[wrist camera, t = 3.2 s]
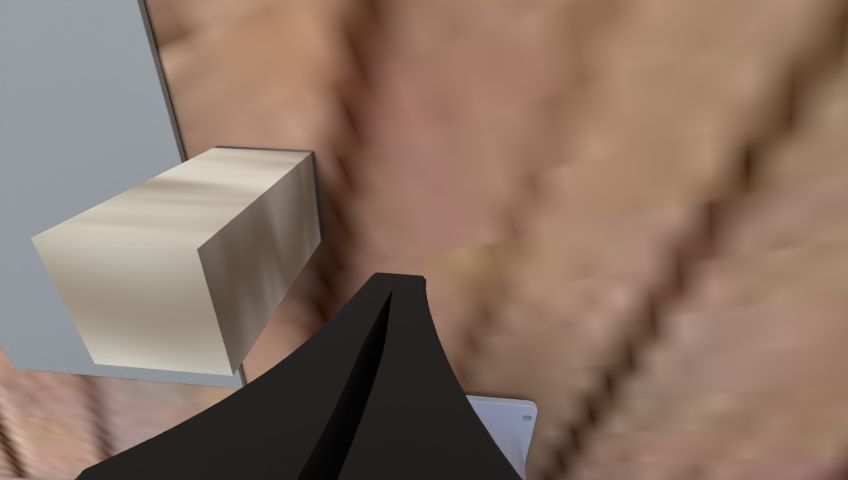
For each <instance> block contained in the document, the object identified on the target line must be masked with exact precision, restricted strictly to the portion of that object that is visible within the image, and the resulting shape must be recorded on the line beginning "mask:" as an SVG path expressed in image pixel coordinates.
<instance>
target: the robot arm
mask: <svg viewBox="0 0 848 480" xmlns="http://www.w3.org/2000/svg"><path fill="white" fill-rule="evenodd" d="M537 413H538V410H537V405H536V404H535V403H534V402H532V401H529V400H517V399H506V398H494V397H482V396H471V395H465V393H464V391H463V390H462V388H461V386H460V384H459V382H458V380H457V378H456V376H455V374H454V372H453V370H452V368H451V366H450V364H449V362H448V360H447V357H446V355H445V353H444V350H443V348H442V345H441V343H440V340H439V338H438V335H437V332H436V329H435V326H434V323H433V320H432V317H431V313H430V309H429V305H428V300H427V295H426V279H425V278H424V277H423V276H419V275H405V274H391V273H377V272H376V273H375V274H373V275H372V276H371V277H370V278H369V279H368V281H367V282H366V283H365V284H364V285H363V286H362V287H361V288H360V290H359V291H358V292H357V293H356V294H355V295H354V296H353V297H352V298H351V299H350V300H349V301H348V302H347V303H346V304H345V305H344V306H343V307H342V308H341V309H340V310H339V311H338V312H337V313H336V314H335V315H334V316H333V317H332V318H331V319H330V320H329V321H328V322H327V323H326V324H325V325H324V326H323V327H322V328H320V329H319V330H318V331H317V332H316V333H315V334H314V335H313V336H312V337H310V338H309V339H308V340H307V341H306V342H305V343H304V344H302V345H301V346H300V347H299V348H297V349H296V350H295V351H294V352H292V353H291V354H290V355H289V356H287V357H286V358H285V359H283V360H282V361H281V362H279V363H278V364H277V365H275V366H274V367H273V368H271V369H270V370H268V371H267V372H266V373H264V374H263V375H261V376H260V377H258V378H256V379H255V380H253V381H252V382H250V383H249V384H247V385H246V386H244V387H242V388H241V389H239V390H238V391H236V392H235V393H233V394H232V395H230V396H228V397H227V398H225V399H223V400H222V401H220V402H218V403H217V404H215V405H213V406H211V407H210V408H208V409H206V410H204V411H203V412H201V413H199V414H197V415H195V416H193V417H192V418H190V419H188V420H186V421H184V422H182V423H180V424H179V425H177V426H175V427H173V428H171V429H169V430H167V431H165V432H163V433H161V434H159V435H157V436H155V437H153V438H151V439H149V440H147V441H145V442H142V443H140V444H138V445H136V446H134V447H132V448H130V449H128V450H126V451H123V452H121V453H119V454H117V455H115V456H113V457H111V458H109V459H106V460H104V461H102V462H100V463H98V464H96V465H93V466H91V467H89V468H87V469H84V470H83V471H82V472H81V474H80V475H79V476H78V477H77V478H76V479H75V480H526V474H525V467H524V466H525V462H526V458H527V454H528V450H529V446H530V442H531V438H532V434H533V430H534V426H535V421H536V417H537Z"/></svg>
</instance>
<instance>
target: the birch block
mask: <svg viewBox="0 0 848 480" xmlns="http://www.w3.org/2000/svg"><path fill="white" fill-rule="evenodd" d="M322 239H323V234H322V225H321V216H320V207H319V197H318V188H317V179H316V170H315V161H314V151H309V150H289V149H269V148H249V147H230V146H216V147H214V148H212V149H210V150H208V151H206V152H204V153H202V154H200V155H198V156H196V157H194V158H192V159H190V160H188V161H186V162H184V163H182V164H180V165H178V166H176V167H174V168H172V169H170V170H168V171H166V172H164V173H162V174H160V175H158V176H156V177H154V178H151V179H149V180H147V181H145V182H143V183H141V184H139V185H137V186H135V187H133V188H131V189H129V190H127V191H125V192H123V193H121V194H119V195H117V196H115V197H113V198H111V199H109V200H107V201H105V202H103V203H101V204H99V205H97V206H95V207H93V208H91V209H89V210H87V211H85V212H83V213H81V214H79V215H76V216H74V217H72V218H70V219H68V220H66V221H64V222H62V223H60V224H58V225H56V226H54V227H52V228H50V229H48V230H46V231H44V232H42V233H40V234H38V235H36V236H34V237H32V238H31V240H32V242H33V244H34V245H35V247H36V249H37V251H38V253H39V255H40V257H41V259H42V261H43V263H44V265H45V267H46V269H47V271H48V273H49V275H50V277H51V279H52V281H53V283H54V285H55V287H56V289H57V291H58V292H59V294H60V296H61V298H62V300H63V302H64V304H65V306H66V308H67V310H68V312H69V314H70V316H71V318H72V320H73V322H74V324H75V326H76V328H77V330H78V332H79V334H80V336H81V338H82V340H83V341H84V343H85V345H86V347H87V349H88V351H89V353H90V355H91V357H92V359H93V361H94V363H95V364H102V365H114V366H125V367H137V368H148V369H160V370H171V371H183V372H194V373H206V374H217V375H229V376H233V375H234V374H235V372H236V371H237V369H238V368H239V366H240V365H241V363H242V362H243V360H244V359H245V357H246V355H247V354H248V352H249V351H250V349H251V348H252V346H253V345H254V343H255V342H256V340H257V339H258V337H259V336H260V334H261V332H262V331H263V329H264V328H265V326H266V325H267V323H268V322H269V320H270V319H271V317H272V316H273V314H274V312H275V311H276V309H277V308H278V306H279V305H280V303H281V302H282V300H283V299H284V297H285V296H286V294H287V293H288V291H289V289H290V288H291V286H292V285H293V283H294V282H295V280H296V279H297V277H298V276H299V274H300V273H301V271H302V270H303V268H304V266H305V265H306V263H307V262H308V260H309V259H310V257H311V256H312V254H313V253H314V251H315V250H316V248H317V247H318V245H319V243H320V242H321V240H322Z"/></svg>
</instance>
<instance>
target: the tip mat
mask: <svg viewBox="0 0 848 480" xmlns="http://www.w3.org/2000/svg"><path fill="white" fill-rule="evenodd" d="M184 162H186V158H185V155H184V151H183V147H182V143H181V140H180V136H179V132H178V129H177V125H176V121H175V117H174V114H173V110H172V106H171V102H170V99H169V95H168V91H167V87H166V84H165V80H164V76H163V72H162V69H161V65H160V61H159V57H158V54H157V50H156V46H155V42H154V39H153V35H152V31H151V27H150V24H149V20H148V16H147V12H146V9H145V5H144V1H143V0H0V346H1V348H2V349H3V351H4V352H5V354H6V355H7V357H8V359H9V360H10V362H11V363H12V365H13V366H14V368H15V369H27V370H38V371H49V372H60V373H72V374H83V375H94V376H105V377H117V378H128V379H139V380H150V381H162V382H173V383H184V384H196V385H207V386H218V387H229V388H242V387H244V386H245V385H246V383H245V379H244V376H243V372H242V368H241V365H240V366H239V368H238V369H237V371H236V372H235V374H234V375H233V376H229V375H217V374H206V373H194V372H183V371H171V370H160V369H148V368H137V367H125V366H114V365H102V364H95V363H94V361H93V359H92V357H91V355H90V353H89V351H88V349H87V347H86V345H85V343H84V341H83V340H82V338H81V336H80V334H79V332H78V330H77V328H76V326H75V324H74V322H73V320H72V318H71V316H70V314H69V312H68V310H67V308H66V306H65V304H64V302H63V300H62V298H61V296H60V294H59V292H58V291H57V289H56V287H55V285H54V283H53V281H52V279H51V277H50V275H49V273H48V271H47V269H46V267H45V265H44V263H43V261H42V259H41V257H40V255H39V253H38V251H37V249H36V247H35V245H34V244H33V242H32V240H31V238H32V237H34V236H36V235H38V234H40V233H42V232H44V231H46V230H48V229H50V228H52V227H54V226H56V225H58V224H60V223H62V222H64V221H66V220H68V219H70V218H72V217H74V216H76V215H79V214H81V213H83V212H85V211H87V210H89V209H91V208H93V207H95V206H97V205H99V204H101V203H103V202H105V201H107V200H109V199H111V198H113V197H115V196H117V195H119V194H121V193H123V192H125V191H127V190H129V189H131V188H133V187H135V186H137V185H139V184H141V183H143V182H145V181H147V180H149V179H151V178H154V177H156V176H158V175H160V174H162V173H164V172H166V171H168V170H170V169H172V168H174V167H176V166H178V165H180V164H182V163H184Z"/></svg>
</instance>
